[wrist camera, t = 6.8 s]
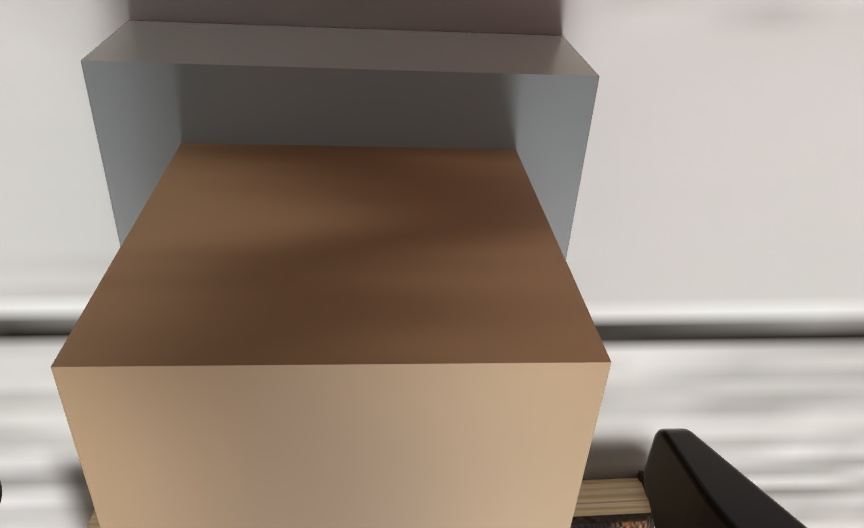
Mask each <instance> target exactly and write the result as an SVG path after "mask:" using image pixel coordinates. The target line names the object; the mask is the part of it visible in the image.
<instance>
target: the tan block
mask: <svg viewBox="0 0 864 528" xmlns="http://www.w3.org/2000/svg"><path fill="white" fill-rule="evenodd" d="M610 365H611V361H610V358H609V356H608V354H607V352H606V349H605V347H604V345H603V343H602V341H601V338H600V336H599V334H598V332H597V329H596V327H595V325H594V323H593V320H592V318H591V316H590V314H589V312H588V309H587V307H586V305H585V303H584V300H583V298H582V296H581V294H580V291H579V289H578V287H577V285H576V282H575V280H574V278H573V276H572V274H571V271H570V269H569V267H568V265H567V262H566V260H565V258H564V256H563V253H562V251H561V249H560V247H559V244H558V242H557V240H556V238H555V236H554V233H553V231H552V229H551V227H550V224H549V222H548V220H547V218H546V215H545V213H544V211H543V209H542V206H541V204H540V202H539V200H538V198H537V195H536V193H535V191H534V189H533V186H532V184H531V182H530V180H529V177H528V175H527V173H526V171H525V169H524V166H523V164H522V162H521V160H520V157H519V155H518V153H517V151H516V150H504V149H455V148H406V147H358V146H309V145H260V144H211V143H181V144H180V146H179V148H178V149H177V151H176V153H175V155H174V156H173V158H172V160H171V161H170V163H169V165H168V167H167V168H166V170H165V172H164V173H163V175H162V177H161V179H160V180H159V182H158V184H157V185H156V187H155V189H154V191H153V192H152V194H151V196H150V198H149V199H148V201H147V203H146V204H145V206H144V208H143V210H142V211H141V213H140V215H139V216H138V218H137V220H136V222H135V223H134V225H133V227H132V228H131V230H130V232H129V234H128V235H127V237H126V239H125V240H124V242H123V244H122V246H121V247H120V249H119V251H118V252H117V254H116V256H115V258H114V259H113V261H112V263H111V265H110V266H109V268H108V270H107V271H106V273H105V275H104V277H103V278H102V280H101V282H100V283H99V285H98V287H97V289H96V290H95V292H94V294H93V295H92V297H91V299H90V301H89V302H88V304H87V306H86V307H85V309H84V311H83V313H82V314H81V316H80V318H79V320H78V321H77V323H76V325H75V326H74V328H73V330H72V332H71V333H70V335H69V337H68V338H67V340H66V342H65V344H64V345H63V347H62V349H61V350H60V352H59V354H58V356H57V357H56V359H55V361H54V362H53V364H52V366H51V369H52V372H53V376H54V379H55V382H56V385H57V389H58V392H59V395H60V398H61V402H62V405H63V408H64V411H65V414H66V418H67V421H68V424H69V427H70V431H71V434H72V437H73V440H74V444H75V447H76V450H77V453H78V457H79V460H80V463H81V466H82V470H83V473H84V476H85V479H86V483H87V486H88V489H89V492H90V495H91V499H92V502H93V505H94V508H95V512H96V515H97V518H98V521H99V525H100V528H570V527H571V523H572V519H573V515H574V511H575V507H576V503H577V498H578V494H579V490H580V486H581V482H582V478H583V474H584V470H585V466H586V462H587V458H588V454H589V450H590V446H591V442H592V438H593V434H594V430H595V426H596V422H597V418H598V414H599V410H600V406H601V402H602V398H603V393H604V389H605V385H606V381H607V377H608V373H609V369H610Z"/></svg>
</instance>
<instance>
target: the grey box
mask: <svg viewBox="0 0 864 528" xmlns="http://www.w3.org/2000/svg"><path fill="white" fill-rule="evenodd" d="M81 64H82V69H83V73H84V78H85V83H86V87H87V92H88V97H89V101H90V106H91V111H92V115H93V120H94V125H95V129H96V134H97V139H98V143H99V148H100V153H101V157H102V162H103V167H104V171H105V176H106V181H107V185H108V190H109V195H110V199H111V204H112V209H113V213H114V218H115V223H116V227H117V232H118V237H119V241H120V246H122V244H123V242H124V240H125V239H126V237H127V235H128V234H129V232H130V230H131V228H132V227H133V225H134V223H135V222H136V220H137V218H138V216H139V215H140V213H141V211H142V210H143V208H144V206H145V204H146V203H147V201H148V199H149V198H150V196H151V194H152V192H153V191H154V189H155V187H156V185H157V184H158V182H159V180H160V179H161V177H162V175H163V173H164V172H165V170H166V168H167V167H168V165H169V163H170V161H171V160H172V158H173V156H174V155H175V153H176V151H177V149H178V148H179V146H180V144H181V143H211V144H260V145H309V146H358V147H406V148H455V149H504V150H516V151H517V153H518V155H519V157H520V160H521V162H522V164H523V166H524V169H525V171H526V173H527V175H528V177H529V180H530V182H531V184H532V186H533V189H534V191H535V193H536V195H537V198H538V200H539V202H540V204H541V206H542V209H543V211H544V213H545V215H546V218H547V220H548V222H549V224H550V227H551V229H552V231H553V233H554V236H555V238H556V240H557V242H558V244H559V247H560V249H561V251H562V253H563V256H564V258H565V260H566V256H567V250H568V245H569V239H570V234H571V228H572V223H573V217H574V212H575V207H576V201H577V196H578V190H579V185H580V179H581V174H582V168H583V163H584V157H585V152H586V147H587V141H588V136H589V130H590V125H591V119H592V114H593V108H594V103H595V97H596V92H597V87H598V81H599V75H598V74H597V73H596V72H595V71H594V70H593V69H592V68H591V66H590V65H589V64H588V63H587V62H586V61H585V60H584V59H583V58H582V56H581V55H580V54H579V53H578V52H577V51H576V50H575V49H574V48H573V46H572V45H571V44H570V43H569V42H568V41H567V40H566V39H565V38H564V37H563V36H551V35H523V34H495V33H467V32H439V31H411V30H383V29H355V28H327V27H299V26H271V25H243V24H215V23H187V22H159V21H131V20H129V21H128V22H126V23H125V24H124V25H123V26H122V27H120V28H119V29H118V30H117V31H116V32H114V33H113V34H112V35H111V36H110V37H108V38H107V39H106V40H105V41H104V42H102V43H101V44H100V45H99V46H98V47H96V48H95V49H94V50H93V51H92V52H90V53H89V54H88V55H87V56H86V57H84V58H83V59H82V60H81Z"/></svg>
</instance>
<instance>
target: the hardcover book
mask: <svg viewBox="0 0 864 528" xmlns="http://www.w3.org/2000/svg"><path fill="white" fill-rule="evenodd" d="M654 526H655V525H654V521H653V517H652V513H651V508H650V504H649V500H648V496H647V492H646V488H645V483H644V472H643V471H639V473H638V477H637V478H624V479H603V480H582V482H581V486H580V490H579V494H578V498H577V503H576V507H575V511H574V515H573V519H572V523H571V527H570V528H654ZM87 528H100V525H99V521H98V518H97V515H96V512H95V509H94V511H93V514H92V516H91V519H90V521H89V523H88V527H87Z"/></svg>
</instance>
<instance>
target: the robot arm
mask: <svg viewBox="0 0 864 528" xmlns="http://www.w3.org/2000/svg"><path fill="white" fill-rule="evenodd" d="M644 483H645V488H646V492H647V496H648V500H649V504H650V508H651V513H652V517H653V521H654V525H655V528H807V527H806V526H804V525H803V524H802V523H801V522H800V521H798V520H797V519H796V518H795V517H794V516H792V515H791V514H790V513H789V512H788V511H786V510H785V509H784V508H783V507H782V506H780V505H779V504H778V503H777V502H776V501H774V500H773V499H772V498H771V497H769V496H768V495H767V494H766V493H765V492H763V491H762V490H761V489H760V488H759V487H757V486H756V485H755V484H754V483H753V482H751V481H750V480H749V479H748V478H747V477H745V476H744V475H743V474H742V473H741V472H739V471H738V470H737V469H736V468H735V467H733V466H732V465H731V464H730V463H728V462H727V461H726V460H725V459H724V458H722V457H721V456H720V455H719V454H718V453H716V452H715V451H714V450H713V449H712V448H710V447H709V446H708V445H707V444H706V443H704V442H703V441H702V440H701V439H700V438H698V437H697V436H696V435H695V434H694V433H692V432H691V431H689V430H687V429H661V430H659V431H658V432H657V433H656V434H655V437H654V440H653V443H652V446H651V449H650V452H649V456H648V459H647V462H646V465H645V469H644ZM1 498H2V485H1V481H0V502H1Z"/></svg>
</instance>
